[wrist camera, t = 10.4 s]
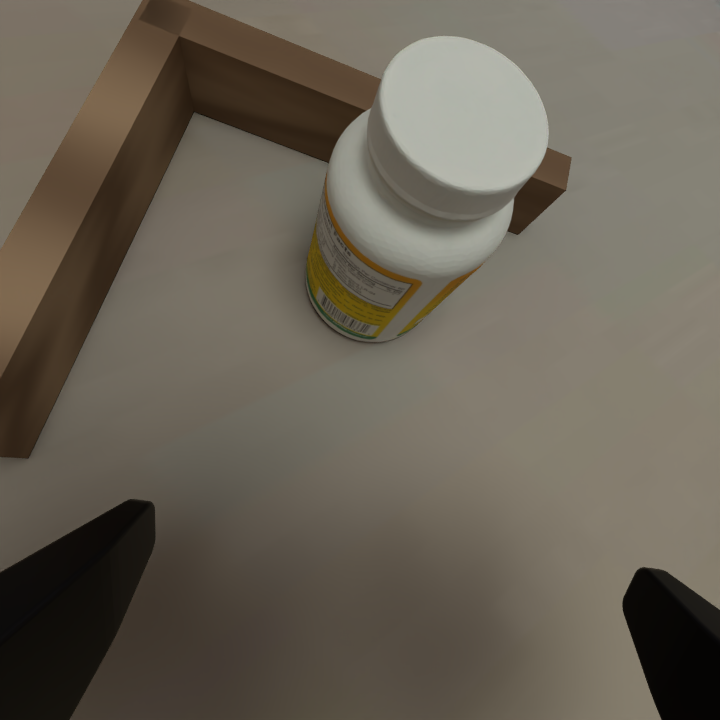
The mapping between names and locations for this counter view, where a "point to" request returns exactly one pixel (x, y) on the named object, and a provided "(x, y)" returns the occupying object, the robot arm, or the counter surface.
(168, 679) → the counter surface
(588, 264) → the counter surface
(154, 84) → the walnut corner walls
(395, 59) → the supplement bottle
